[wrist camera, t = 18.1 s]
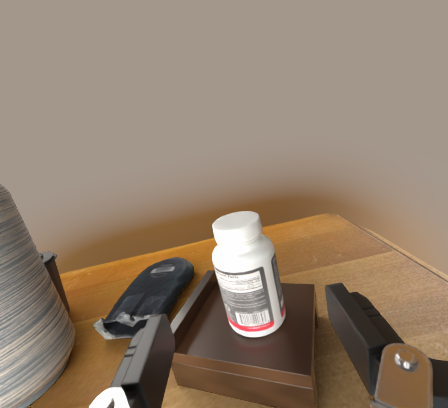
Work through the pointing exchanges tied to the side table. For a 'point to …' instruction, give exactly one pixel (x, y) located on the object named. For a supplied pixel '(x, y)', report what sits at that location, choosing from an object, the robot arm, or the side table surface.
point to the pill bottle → (247, 275)
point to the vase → (28, 315)
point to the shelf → (247, 349)
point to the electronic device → (146, 298)
